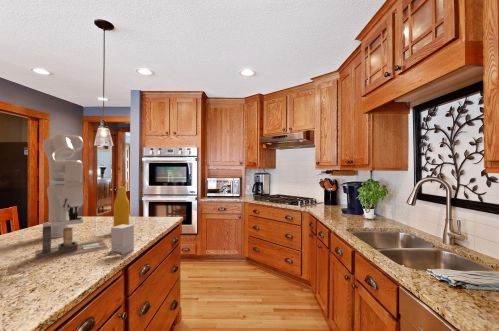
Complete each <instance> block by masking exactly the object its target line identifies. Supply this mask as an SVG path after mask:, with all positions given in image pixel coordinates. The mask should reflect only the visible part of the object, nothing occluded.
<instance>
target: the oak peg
mask: <svg viewBox="0 0 499 331" xmlns="http://www.w3.org/2000/svg"><path fill="white" fill-rule="evenodd" d="M73 230H74V228H73V227H72V226H68V227H66V228H63V237H62V239H63V240H62V241H63V242H62V243H63V246H69V245H72V242H73V233H74V232H73Z"/></svg>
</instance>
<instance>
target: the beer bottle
mask: <svg viewBox="0 0 499 331" xmlns="http://www.w3.org/2000/svg"><path fill="white" fill-rule="evenodd" d="M122 224H124V225H130V200H129V199H128V196H127V190H126V186H118V187H117V192H116V198H115V200H114V201H113V227H115V226H119V225H122Z"/></svg>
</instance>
